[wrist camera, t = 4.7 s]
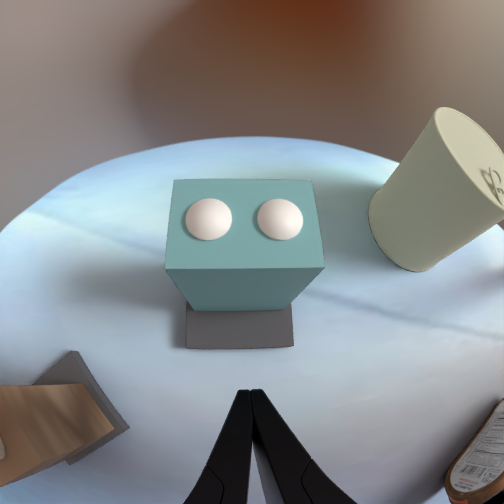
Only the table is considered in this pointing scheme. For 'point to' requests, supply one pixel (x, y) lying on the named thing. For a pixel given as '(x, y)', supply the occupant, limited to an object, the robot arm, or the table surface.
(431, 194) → the can
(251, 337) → the socket
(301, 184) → the teal block
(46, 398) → the brown box
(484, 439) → the tin
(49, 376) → the socket
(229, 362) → the table surface
